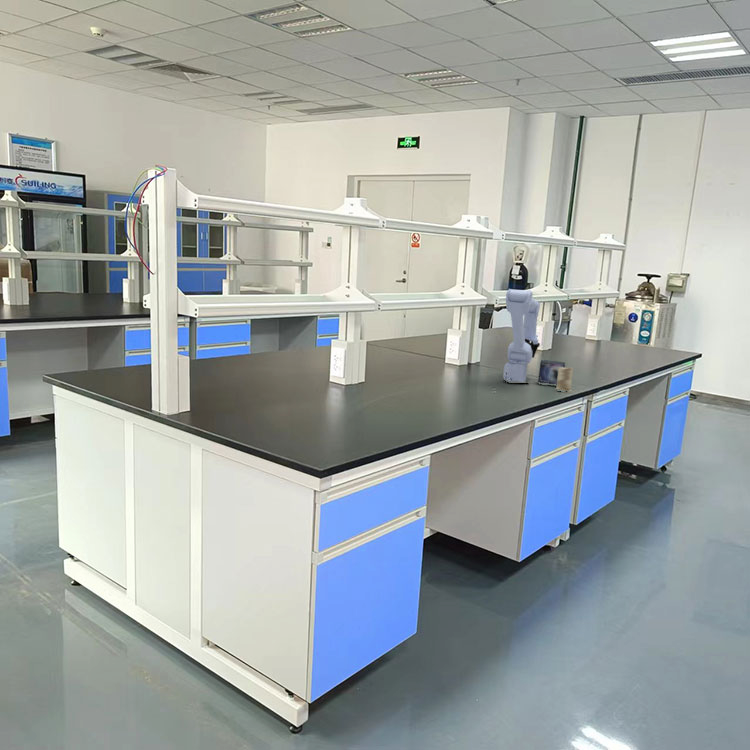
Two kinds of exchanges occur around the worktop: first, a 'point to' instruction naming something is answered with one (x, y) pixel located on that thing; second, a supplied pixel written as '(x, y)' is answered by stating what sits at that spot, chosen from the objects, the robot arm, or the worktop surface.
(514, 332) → the robot arm
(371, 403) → the worktop surface
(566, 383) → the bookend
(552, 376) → the small box
